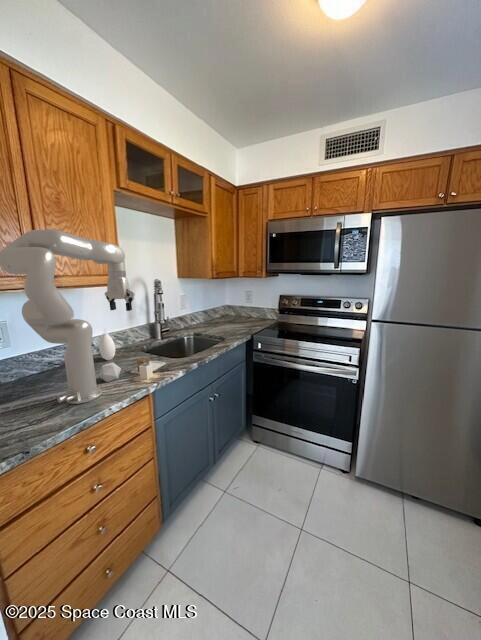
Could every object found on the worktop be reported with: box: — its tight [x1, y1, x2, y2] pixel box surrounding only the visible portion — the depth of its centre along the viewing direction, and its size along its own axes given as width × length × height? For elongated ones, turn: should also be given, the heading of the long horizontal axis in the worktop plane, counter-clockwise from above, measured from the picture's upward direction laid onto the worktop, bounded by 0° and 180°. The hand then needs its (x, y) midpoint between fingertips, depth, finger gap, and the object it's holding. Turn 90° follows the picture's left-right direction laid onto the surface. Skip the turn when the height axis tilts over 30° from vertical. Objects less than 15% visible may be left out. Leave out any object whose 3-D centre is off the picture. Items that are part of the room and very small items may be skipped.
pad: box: [131, 373, 161, 384], centre depth 123 cm, size 9×9×1 cm
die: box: [98, 362, 122, 383], centre depth 121 cm, size 8×9×10 cm
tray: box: [129, 360, 167, 375], centre depth 135 cm, size 16×10×1 cm, turn 162°
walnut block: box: [136, 356, 150, 372], centre depth 131 cm, size 4×4×6 cm
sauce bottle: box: [98, 329, 116, 361], centre depth 148 cm, size 8×8×18 cm
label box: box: [139, 363, 154, 380], centre depth 122 cm, size 4×4×6 cm
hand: (121, 310), depth 130 cm, fingers open, 9 cm apart
